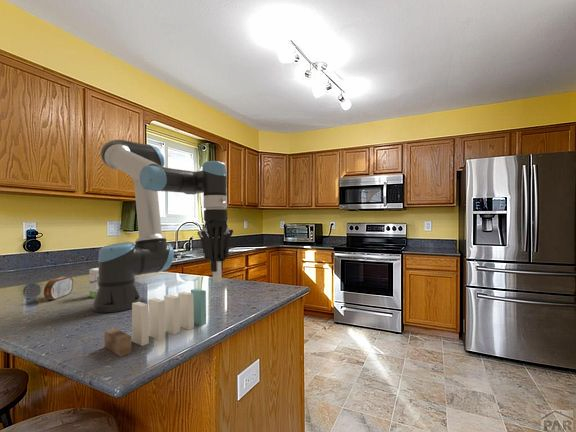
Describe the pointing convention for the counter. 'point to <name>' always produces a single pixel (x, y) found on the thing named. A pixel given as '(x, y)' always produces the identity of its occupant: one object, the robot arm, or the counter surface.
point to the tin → (58, 287)
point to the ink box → (94, 281)
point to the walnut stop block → (118, 342)
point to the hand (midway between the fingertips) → (217, 281)
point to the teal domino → (199, 306)
